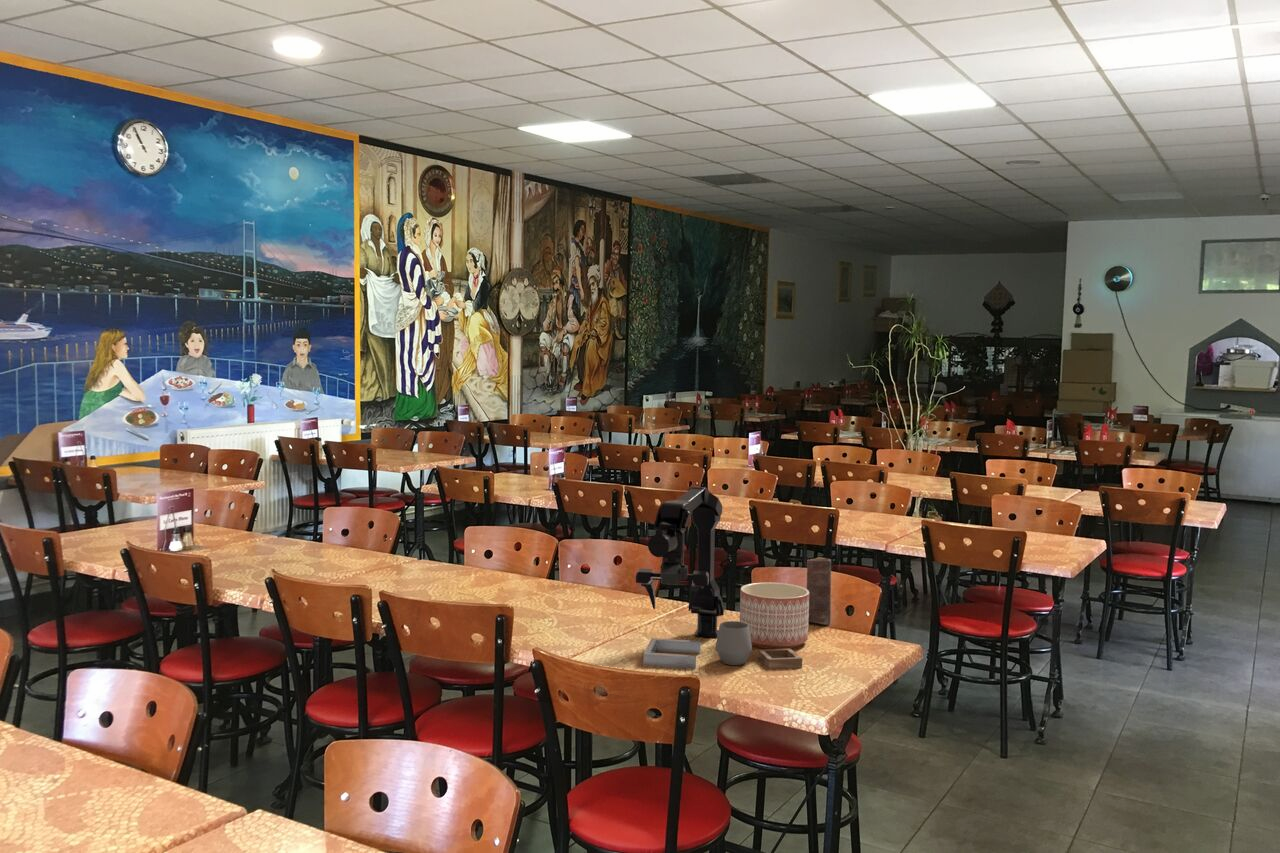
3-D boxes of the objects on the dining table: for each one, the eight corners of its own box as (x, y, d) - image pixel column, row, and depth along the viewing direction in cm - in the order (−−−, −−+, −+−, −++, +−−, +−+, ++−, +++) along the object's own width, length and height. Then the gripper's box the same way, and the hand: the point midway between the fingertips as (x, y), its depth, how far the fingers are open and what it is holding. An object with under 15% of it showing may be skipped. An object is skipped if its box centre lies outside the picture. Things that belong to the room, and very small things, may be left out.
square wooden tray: (757, 658, 264) (758, 649, 264) (790, 657, 266) (790, 648, 265) (768, 669, 255) (769, 659, 255) (802, 667, 257) (802, 658, 257)
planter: (732, 646, 274) (733, 594, 273) (747, 629, 292) (748, 580, 291) (801, 654, 268) (803, 600, 267) (812, 636, 286) (814, 586, 285)
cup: (708, 659, 262) (709, 622, 262) (739, 655, 266) (740, 618, 266) (726, 669, 254) (727, 631, 253) (758, 665, 258) (759, 627, 257)
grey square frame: (643, 665, 256) (643, 653, 256) (651, 648, 271) (651, 638, 271) (695, 668, 254) (695, 657, 254) (700, 652, 269) (700, 641, 269)
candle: (811, 627, 297) (813, 560, 295) (801, 620, 304) (803, 556, 302) (834, 625, 299) (836, 560, 297) (823, 619, 306) (825, 555, 304)
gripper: (633, 555, 251) (632, 615, 252) (707, 558, 249) (705, 619, 250) (638, 546, 263) (637, 605, 264) (709, 549, 260) (708, 608, 261)
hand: (671, 609), depth 259 cm, fingers open, 9 cm apart
